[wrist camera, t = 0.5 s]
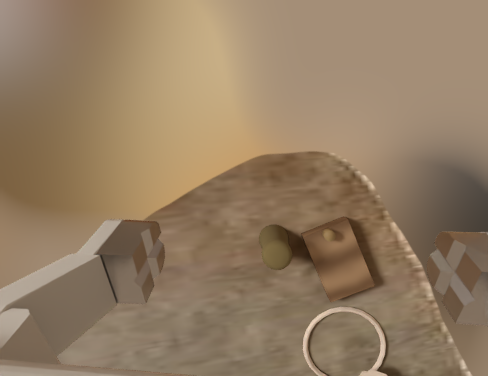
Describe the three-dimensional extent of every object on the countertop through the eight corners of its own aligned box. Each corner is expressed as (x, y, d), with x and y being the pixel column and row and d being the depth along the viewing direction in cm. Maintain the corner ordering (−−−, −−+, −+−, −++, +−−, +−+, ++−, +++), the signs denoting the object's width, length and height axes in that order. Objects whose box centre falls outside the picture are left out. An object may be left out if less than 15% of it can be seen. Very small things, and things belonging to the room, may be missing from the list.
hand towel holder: (362, 299, 54) (422, 383, 55) (354, 289, 59) (410, 367, 60) (288, 347, 56) (348, 428, 57) (286, 333, 60) (341, 409, 61)
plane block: (368, 279, 58) (379, 290, 53) (327, 295, 59) (333, 307, 54) (343, 216, 57) (351, 221, 52) (301, 233, 58) (305, 240, 53)
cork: (290, 226, 58) (298, 242, 47) (286, 255, 58) (293, 277, 47) (260, 223, 58) (261, 237, 47) (257, 251, 59) (257, 273, 48)
